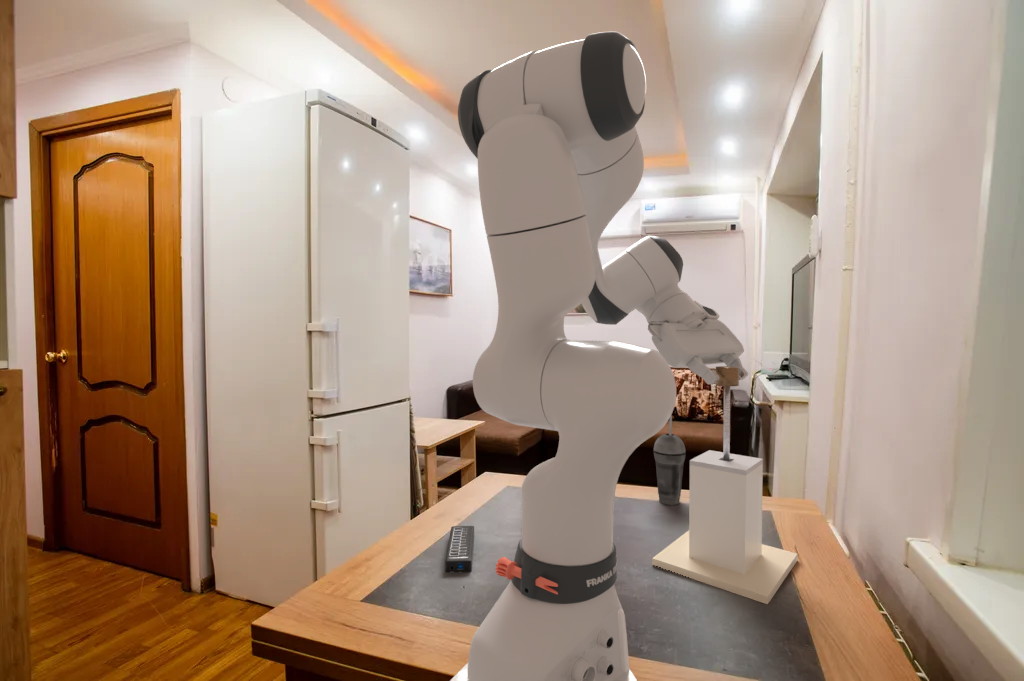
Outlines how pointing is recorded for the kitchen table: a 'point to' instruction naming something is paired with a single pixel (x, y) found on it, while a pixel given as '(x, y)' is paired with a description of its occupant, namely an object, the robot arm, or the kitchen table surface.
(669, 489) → the beverage cup
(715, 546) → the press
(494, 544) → the kitchen table surface
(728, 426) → the plunger
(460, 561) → the multiport hub
